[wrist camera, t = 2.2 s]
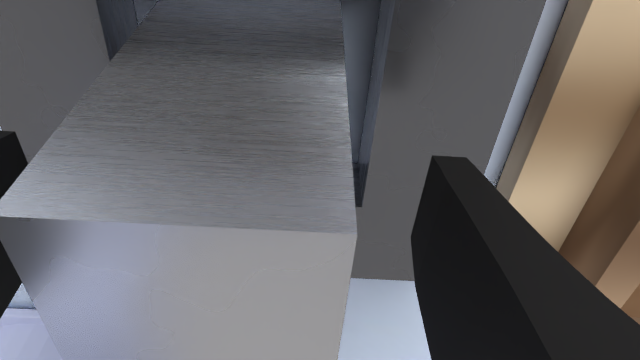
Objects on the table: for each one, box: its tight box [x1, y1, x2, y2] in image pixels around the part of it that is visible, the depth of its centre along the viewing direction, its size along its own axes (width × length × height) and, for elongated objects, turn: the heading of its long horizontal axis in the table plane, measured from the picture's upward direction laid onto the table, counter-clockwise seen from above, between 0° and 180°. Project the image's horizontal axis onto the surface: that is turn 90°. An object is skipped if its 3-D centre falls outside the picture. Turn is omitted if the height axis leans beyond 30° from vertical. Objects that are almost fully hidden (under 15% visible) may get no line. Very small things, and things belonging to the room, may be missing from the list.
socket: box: [0, 0, 546, 281], centre depth 12 cm, size 12×12×2 cm
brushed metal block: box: [0, 0, 357, 360], centre depth 10 cm, size 4×4×8 cm
